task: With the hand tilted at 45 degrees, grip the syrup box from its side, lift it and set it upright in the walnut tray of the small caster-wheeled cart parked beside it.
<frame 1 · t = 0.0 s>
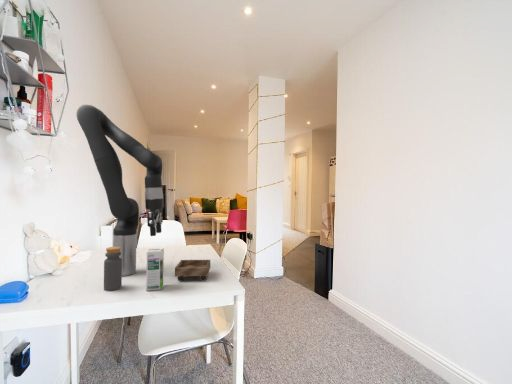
hand: (156, 234, 116), 17 cm above the table, tool pointing down, fingers open, 8 cm apart
syrup box: (155, 288, 97), on the table
bottle: (112, 288, 96), on the table
caster cart: (193, 276, 110), on the table
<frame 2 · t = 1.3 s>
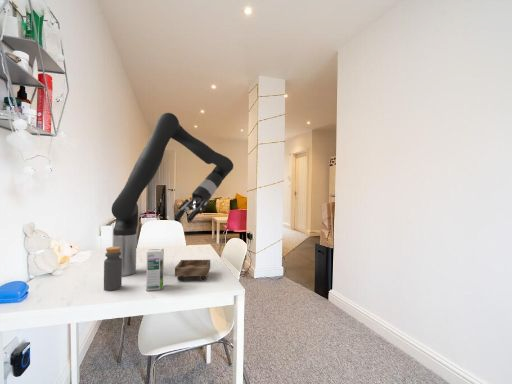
hand: (182, 219, 106), 25 cm above the table, tool tilted 45°, fingers open, 8 cm apart
nothing on the table moved.
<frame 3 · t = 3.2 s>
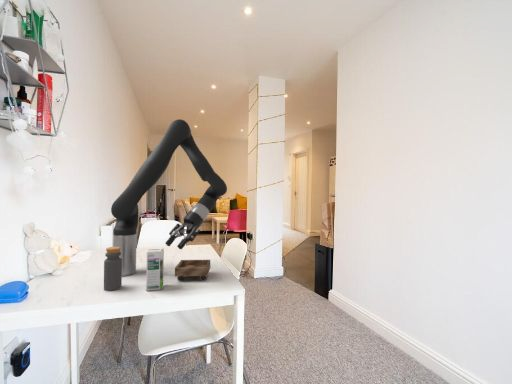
hand: (172, 246, 103), 14 cm above the table, tool tilted 45°, fingers open, 8 cm apart
nothing on the table moved.
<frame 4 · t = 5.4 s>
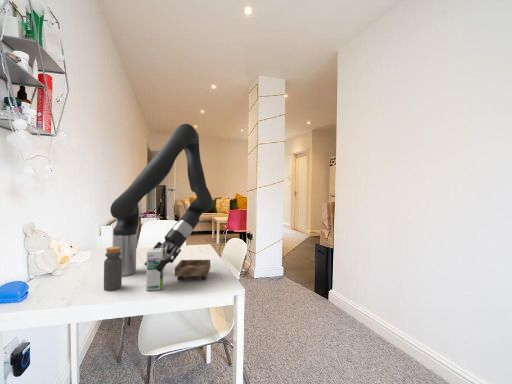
hand: (151, 268, 96), 8 cm above the table, tool tilted 45°, fingers closed on syrup box, 8 cm apart
syrup box: (155, 288, 97), on the table, touching gripper
everything else where it was.
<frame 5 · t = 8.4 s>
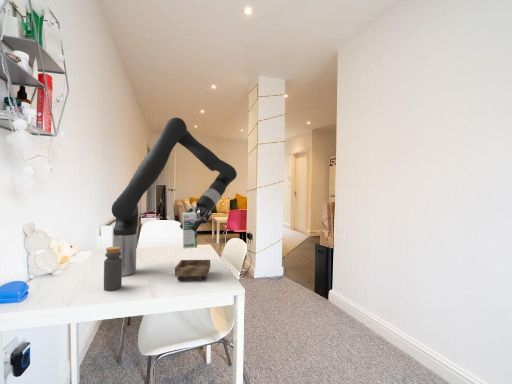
hand: (187, 229, 107), 21 cm above the table, tool tilted 45°, fingers closed on syrup box, 8 cm apart
syrup box: (189, 247, 108), point 13 cm above the table, touching gripper
everything else where it was.
when the fingers open (12 cm above the table, at t = 11.3 s): syrup box drops 1 cm, resting on caster cart.
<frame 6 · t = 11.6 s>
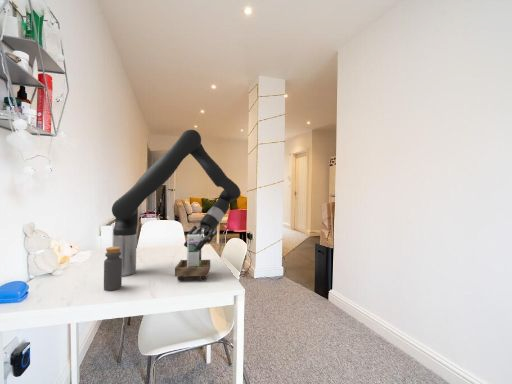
hand: (191, 247, 109), 13 cm above the table, tool tilted 45°, fingers open, 8 cm apart
syrup box: (193, 268, 111), point 3 cm above the table, touching caster cart
everything else where it was.
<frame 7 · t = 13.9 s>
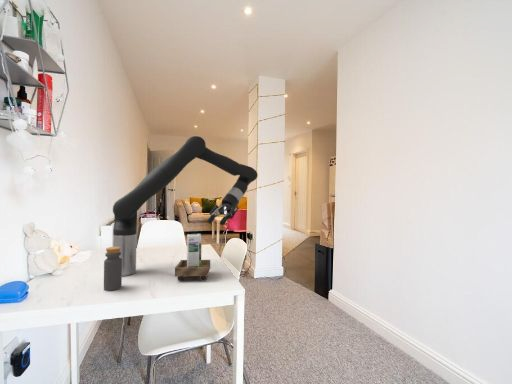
hand: (214, 223, 120), 22 cm above the table, tool tilted 45°, fingers open, 8 cm apart
nothing on the table moved.
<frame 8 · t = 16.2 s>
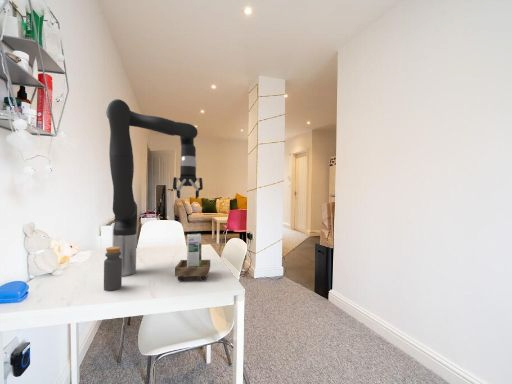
hand: (187, 198, 129), 33 cm above the table, tool pointing down, fingers open, 8 cm apart
nothing on the table moved.
at the end: syrup box inside the target area on the caster cart (0.1 cm from its centre), point 3.4 cm above the caster cart's base; syrup box tilted 0°; the gripper is holding nothing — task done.
